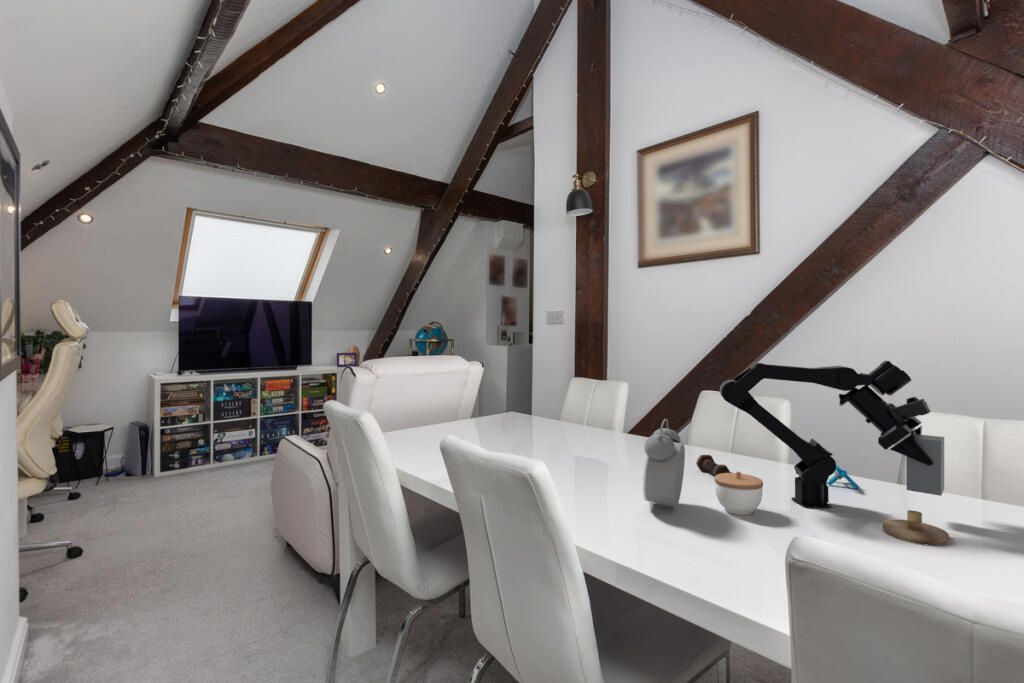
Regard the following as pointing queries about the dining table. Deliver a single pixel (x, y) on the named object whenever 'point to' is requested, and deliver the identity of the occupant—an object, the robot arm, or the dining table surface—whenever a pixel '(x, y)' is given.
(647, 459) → the alarm clock
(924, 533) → the stub base
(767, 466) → the dining table surface
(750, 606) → the dining table surface
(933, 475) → the block
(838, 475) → the blue thin-armed part
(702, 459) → the bolt
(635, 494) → the dining table surface
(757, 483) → the lidded jar
